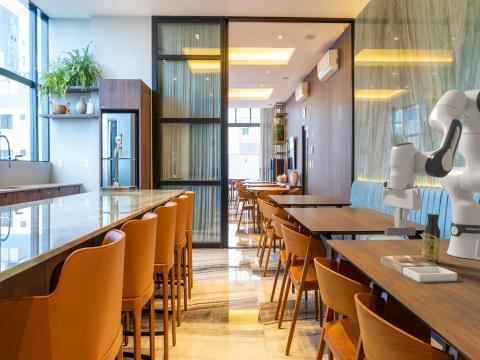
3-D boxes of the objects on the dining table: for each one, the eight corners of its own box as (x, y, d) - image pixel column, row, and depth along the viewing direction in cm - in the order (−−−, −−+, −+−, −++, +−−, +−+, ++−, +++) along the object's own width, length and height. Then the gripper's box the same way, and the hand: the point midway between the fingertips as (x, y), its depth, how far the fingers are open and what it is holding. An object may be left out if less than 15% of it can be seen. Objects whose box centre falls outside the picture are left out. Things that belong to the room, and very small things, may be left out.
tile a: (419, 259, 138) (419, 255, 138) (426, 261, 134) (426, 257, 134) (409, 259, 137) (409, 255, 137) (416, 262, 133) (416, 258, 133)
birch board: (412, 262, 144) (412, 255, 144) (437, 272, 130) (437, 264, 130) (380, 263, 142) (380, 256, 142) (401, 274, 128) (402, 265, 128)
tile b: (402, 259, 136) (402, 255, 136) (409, 262, 133) (409, 258, 133) (392, 259, 136) (393, 256, 136) (399, 262, 132) (399, 258, 132)
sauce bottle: (418, 261, 147) (419, 212, 146) (428, 259, 149) (430, 212, 149) (432, 265, 141) (433, 214, 140) (443, 263, 143) (444, 214, 143)
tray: (438, 273, 130) (438, 266, 130) (457, 280, 121) (457, 273, 121) (402, 274, 127) (403, 267, 127) (419, 282, 118) (419, 274, 118)
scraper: (411, 234, 143) (412, 206, 143) (416, 235, 140) (417, 207, 140) (383, 234, 141) (384, 206, 141) (388, 235, 138) (389, 207, 138)
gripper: (426, 185, 130) (425, 223, 131) (393, 183, 150) (392, 216, 151) (411, 185, 129) (409, 223, 129) (380, 183, 149) (379, 216, 150)
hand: (400, 219), depth 140 cm, fingers closed on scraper, 3 cm apart
